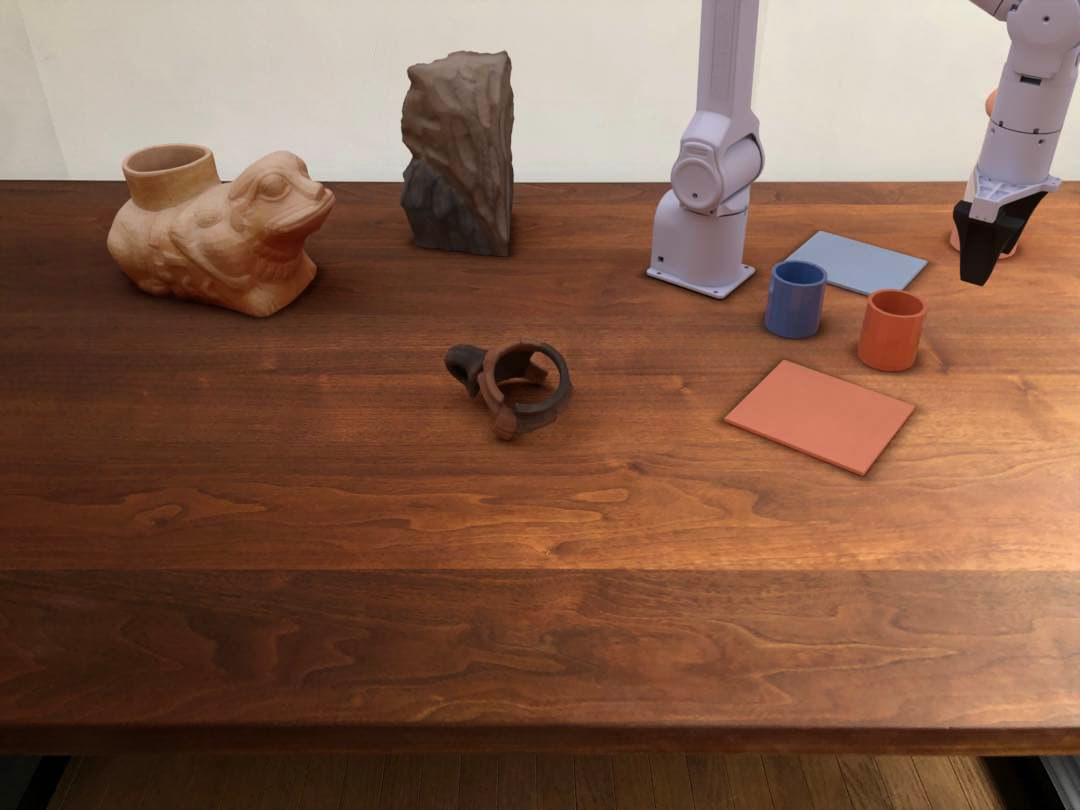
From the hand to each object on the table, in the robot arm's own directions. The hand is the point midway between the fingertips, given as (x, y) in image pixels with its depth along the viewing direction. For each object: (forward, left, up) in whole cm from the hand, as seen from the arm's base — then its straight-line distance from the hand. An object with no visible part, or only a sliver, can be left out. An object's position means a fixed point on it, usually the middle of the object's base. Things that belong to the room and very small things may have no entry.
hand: (985, 266), depth 97 cm
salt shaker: (-6, +26, -10) cm, 29 cm away
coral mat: (-7, -17, -10) cm, 21 cm away
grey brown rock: (-55, -8, -10) cm, 57 cm away
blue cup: (-16, -4, -10) cm, 19 cm away
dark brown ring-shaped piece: (-30, -33, -10) cm, 46 cm away
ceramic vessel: (-69, -32, -10) cm, 77 cm away
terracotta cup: (-6, -4, -10) cm, 12 cm away
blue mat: (-16, +12, -10) cm, 22 cm away
